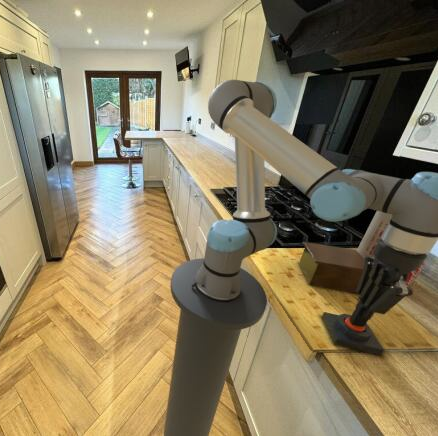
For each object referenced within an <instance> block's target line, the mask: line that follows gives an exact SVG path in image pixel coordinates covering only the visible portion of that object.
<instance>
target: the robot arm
mask: <svg viewBox="0 0 438 436" xmlns="http://www.w3.org/2000/svg"><path fill="white" fill-rule="evenodd" d="M277 103H278V101H277V95H276V92H275V91H274V90H273V88H272V87H271V86H269V85H267V84H265V83H263V82H259V81H247V80H240V79H228V80H225V81H222V82H221V83H219V84H218V85H216V87H215V88H214V89H213V91H212V92H211V93H210V96H209V99H208V102H207V111H208V114H209V117H210V119H211V120H212V122H213V123H214V124H215V126H217V127H218V128H219V129H220V130H221V131H223V132H224V133H226V134H230V135H231V136H232V137H233V138H234V157H235V158H234V159H235V182H236V206H237V209H236V211H234V212H233V214H232V218H233V219H228V220H227V219H221V220H217V221H215V222H213V223H212V225H210V227H209V230H208V233H207V235H206V244H205V251H204V256H203V257H204V262H203V265H202V266H201V268H200V269H199V271H198V272H197V274H196V277H195V284H193V285H191V286H192V287H194V286H196V288H197V290H198V291H199V292H200V293H201V294H202V295H204V296H205V297H207V298H209V299H211V300H214V301H218V302H230V301H233V300H235V299H236V298H237V297H238V296H239V294H240V291H241V283H240V276H239V271H240V268H242V264H243V260H245V259H246V258H248V257H250V256H252V255H254V254H257V253H258V252H262V251H264V250H266V249H267V248H269V247H271V245H272V244H273V243H274V242H275V241H276V239H277V237H278V228H277V225H276V222H274V221H273V219H272V218H271V212H270V211H269V210H267V208H266V182H265V181H266V178H265V177H266V176H265V173H266V172H265V162H266V163H267V164H268V165H269V166H271V167H272V168H273V169H274V170H275V171H276V172H277V173H279V174H280V175H281V176H282V177H283V178H285V180H287V181H289V182H290V183H291V184H292V185H293V186H294V187H296V189H298V190H299V191H300V192H302V193H303V194H304V195H305V196H306V197H307V198H309V199H310V201H309V202H310V204H309V205H310V207H311V210H312V212H313V214H314V215H315V216H317V217H318V218H319V219H322V220H324V221H327V222H334V223H337V222H342V221H346V220H350V219H352V218H354V217H357V216H359V215H360V214H361V213H362V212H363V211H364V212H365V210H368V209H370V210H373V211H376V212H377V211H380V212H384V213H389V214H392V215H393V216H392V219H391V220H390V222H389V223H388V225H387V227H386V229H385V230H384V232H383V234H382V236H381V239H382V240H379V242H378V244H377V245H376V247H375V249H374V251H373V255H374V256H375V258H373V257H365V263H364V268H363V271H362V274H361V277H360V280H359V283H358V286H357V289H356V292H357V293H358V294H357V295H359V296H358V302H357V303H356V305H355V308H354V309H353V311H352V314H350V315H351V317H350V319H349V321H350V322H351V324H353V325H357V326H362V327H364V326H365V325H366V323H367V324H368V322H369V321H370V320H371V319H372V318H373V316H374V314H375V313H376V314H381V315H385V314H386V313H388V312H389V311H391V310H392V309H393V308H394V307H395V306H396V305H397V304H398V303H400V302H401V301H402V300H403V299H404V298H407V297H409V296H412V295H413V294H414V291H413V290H412V288H411V289H410V288H408V289H407V287H406V284H405V282H406V281H407V280H408V276H409V273H410V272H412V271H414V270H417V269H419V268H420V266H421V265H422V263H423V262H425V261H426V259H427V258H428V255H427V254H429V253H430V252H431V251H432V249H433V248H434V246H435V245H436V244H437V242H438V172H433V171H420V172H417V173H416V174H414V176H413V177H412V178H410V179H409V178H406V179H405V178H399V177H395V176H390V175H383V174H379V173H373V172H369V171H365V170H364V169H363V170H362V169H352V168H345V169H342V170H341V169H339V168H338V167H337V166H336V165H334V164H333V163H332V162H330V161H329V160H327V159H326V158H325V157H323V156H322V155H321V154H320V153H318V152H317V151H315V150H314V149H312V148H311V147H310V146H309V145H307V144H305V143H304V142H302V141H301V140H300V139H298V138H297V137H296V136H294V135H293V134H291V132H289V131H287V130H286V129H285V128H283V127H282V126H280V125H279V124H278V123H276V122H275V121H273V120H272V119H271V118H272V116H273V114H275V111H276V108H277ZM424 260H425V261H424ZM362 289H363V290H362Z"/></svg>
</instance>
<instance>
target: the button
mask: <svg viewBox="0 0 438 436" xmlns="http://www.w3.org/2000/svg"><path fill="white" fill-rule="evenodd" d="M349 319H350V318H346V320H345V321H344V322H345V324H346V325H347V326H348V327H350V328H351V329H353V330H355V331H357V332H364V330H365V326H364V327H362V326H357V325H353V324H351V322H350V321H349Z"/></svg>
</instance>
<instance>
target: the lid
mask: <svg viewBox="0 0 438 436" xmlns="http://www.w3.org/2000/svg"><path fill="white" fill-rule="evenodd" d="M302 245H304V248H305V247H306V249H307V251H308V252H309V254H310V256H311V257H312V259H313V261H314V262H315V263H317V264H323V265H329V266H335V267H341V268H347V269H352V270H358V271H363V268H364V263H365V259H364V258H363V257H362V256H361V255H360V254H359V253H358V252H357V249H352V248H346V247H339V246H333V245H327V244H320V243H314V242H308V241H303V244H302Z"/></svg>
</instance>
